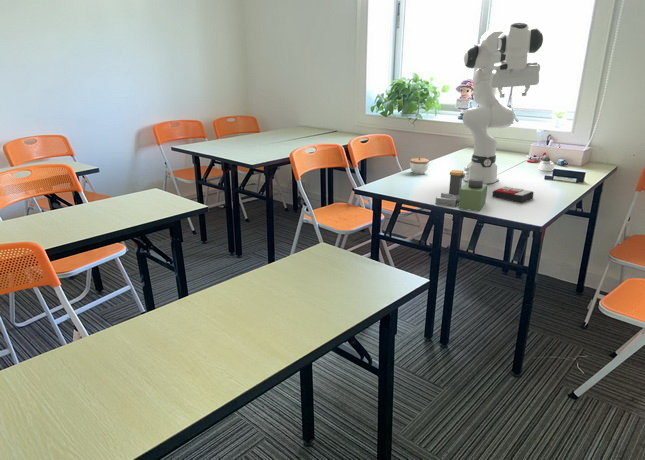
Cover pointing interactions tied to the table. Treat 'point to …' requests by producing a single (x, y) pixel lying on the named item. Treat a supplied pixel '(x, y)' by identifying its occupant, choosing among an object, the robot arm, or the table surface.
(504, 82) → the robot arm
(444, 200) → the bracket
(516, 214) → the table surface
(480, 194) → the green box
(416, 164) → the lidded jar
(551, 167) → the inkwell
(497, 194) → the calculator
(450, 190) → the grey orange-topped box
